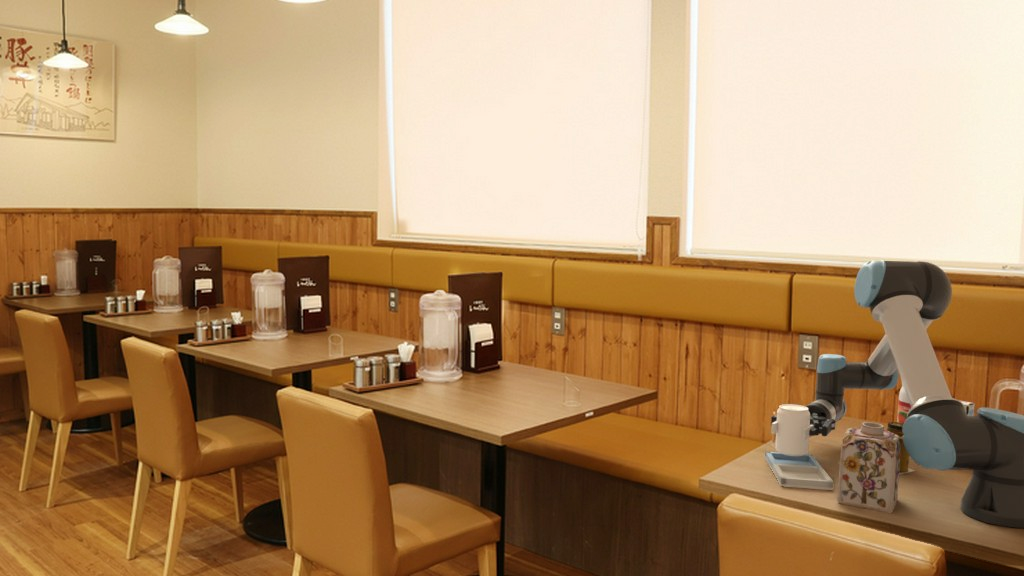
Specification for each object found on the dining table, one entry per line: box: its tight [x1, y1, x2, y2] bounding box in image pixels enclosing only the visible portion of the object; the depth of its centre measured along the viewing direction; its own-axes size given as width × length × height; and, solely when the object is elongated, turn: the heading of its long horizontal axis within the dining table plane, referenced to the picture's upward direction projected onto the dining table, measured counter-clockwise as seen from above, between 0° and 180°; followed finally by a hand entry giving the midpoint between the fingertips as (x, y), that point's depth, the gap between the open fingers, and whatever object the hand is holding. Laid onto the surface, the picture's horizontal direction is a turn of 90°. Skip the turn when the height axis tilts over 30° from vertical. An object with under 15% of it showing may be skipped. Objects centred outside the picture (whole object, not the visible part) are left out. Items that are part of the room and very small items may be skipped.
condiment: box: [886, 421, 916, 476], centre depth 215 cm, size 7×8×12 cm
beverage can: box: [774, 403, 810, 456], centre depth 214 cm, size 8×8×12 cm
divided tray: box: [764, 451, 834, 491], centre depth 209 cm, size 23×12×2 cm, turn 172°
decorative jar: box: [836, 421, 901, 514], centre depth 189 cm, size 12×12×18 cm
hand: (787, 431), depth 210 cm, fingers closed on beverage can, 7 cm apart
